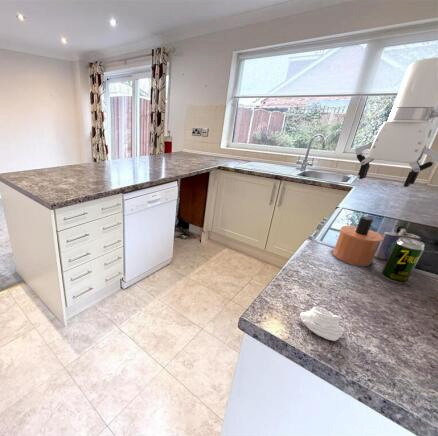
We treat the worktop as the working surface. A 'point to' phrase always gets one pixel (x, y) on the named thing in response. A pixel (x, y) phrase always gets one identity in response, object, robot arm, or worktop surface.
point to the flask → (391, 243)
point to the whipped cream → (323, 323)
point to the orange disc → (362, 231)
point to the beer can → (402, 260)
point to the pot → (355, 250)
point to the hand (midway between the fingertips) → (383, 182)
